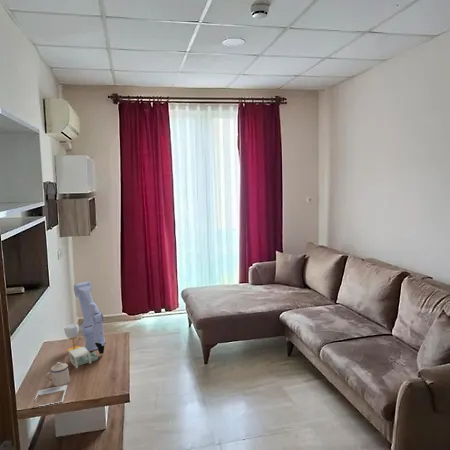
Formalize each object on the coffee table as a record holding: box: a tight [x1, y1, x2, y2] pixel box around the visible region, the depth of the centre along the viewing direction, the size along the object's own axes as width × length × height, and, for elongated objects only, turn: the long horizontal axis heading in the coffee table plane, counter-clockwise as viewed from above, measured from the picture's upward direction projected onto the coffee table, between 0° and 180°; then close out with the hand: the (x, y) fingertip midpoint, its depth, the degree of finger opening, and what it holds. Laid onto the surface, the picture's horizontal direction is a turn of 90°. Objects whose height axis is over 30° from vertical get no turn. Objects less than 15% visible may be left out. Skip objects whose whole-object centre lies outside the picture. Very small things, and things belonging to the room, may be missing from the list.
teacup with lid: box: [45, 361, 70, 387], centre depth 228 cm, size 12×9×12 cm
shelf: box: [68, 345, 92, 369], centre depth 252 cm, size 13×9×7 cm
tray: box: [73, 351, 99, 367], centre depth 254 cm, size 8×13×4 cm, turn 125°
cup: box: [64, 323, 81, 353], centre depth 273 cm, size 9×9×16 cm
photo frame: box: [34, 384, 68, 407], centre depth 215 cm, size 15×1×18 cm
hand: (101, 353), depth 260 cm, fingers closed
